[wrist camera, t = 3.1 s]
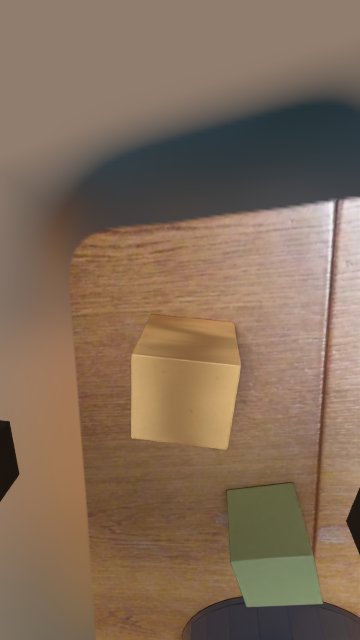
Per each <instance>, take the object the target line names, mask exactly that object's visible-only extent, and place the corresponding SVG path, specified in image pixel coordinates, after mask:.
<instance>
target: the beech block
mask: <svg viewBox="0 0 360 640" xmlns="http://www.w3.org/2000/svg"><path fill="white" fill-rule="evenodd" d="M240 371H241V361H240V356H239V350H238V344H237V338H236V332H235V327H234V322H225V321H215V320H204V319H194V318H184V317H173V316H163V315H153V314H151V316H150V318H149V320H148V322H147V324H146V326H145V328H144V330H143V332H142V334H141V336H140V338H139V340H138V342H137V344H136V346H135V348H134V350H133V352H132V354H131V438H135V439H143V440H151V441H159V442H167V443H175V444H184V445H192V446H200V447H208V448H216V449H224V450H227V449H228V443H229V437H230V431H231V425H232V419H233V413H234V407H235V401H236V395H237V389H238V383H239V377H240Z"/></svg>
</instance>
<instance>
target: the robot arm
mask: <svg viewBox="0 0 360 640" xmlns="http://www.w3.org/2000/svg"><path fill="white" fill-rule="evenodd" d="M18 475H19V470H18V465H17V460H16V454H15V448H14V443H13V438H12V432H11V427H10V422H9V421H1V420H0V501H1V500H2V498H3V497H4V496H5V494H6V493H7V491H8V490H9V488H10V487H11V486H12V484H13V483H14V481H15V480H16V478H17V477H18ZM346 522H347V525H348V527H349V529H350V532H351V534H352V537H353V539H354V542H355V544H356V547H357V549H358V552H359V554H360V488H359V491H358V493H357V495H356V498H355V500H354V503H353V505H352V508H351V510H350V513H349V515H348V517H347V520H346Z"/></svg>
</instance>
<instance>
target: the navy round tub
mask: <svg viewBox="0 0 360 640" xmlns="http://www.w3.org/2000/svg"><path fill="white" fill-rule="evenodd" d="M182 640H360V618H358V617H356V616H355V615H353V614H352V613H349V612H347V611H345V610H343V609H341V608H338V607H336V606H333V605H330V604H327V603H324V602H323V604H308V605H285V606H262V607H246V604H245V601H244V598H243V597H240V598H235V599H230V600H226V601H223V602H220V603H217V604H215V605H212V606H210V607H208V608H206V609H204V610H202V611H201V612H199V613H198V614H197V615H195V616H194V617H193V618H192V619H191V620H190V621H189V622H188V623H187V625H186V627H185V629H184V631H183V635H182Z"/></svg>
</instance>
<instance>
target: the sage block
mask: <svg viewBox="0 0 360 640" xmlns="http://www.w3.org/2000/svg"><path fill="white" fill-rule="evenodd" d="M227 506H228V526H229V545H230V562H231V565H232V567H233V570H234V573H235V576H236V579H237V582H238V584H239V587H240V590H241V593H242V596H243V598H244V601H245V604H246V607H262V606H285V605H308V604H323V600H322V595H321V590H320V585H319V580H318V575H317V570H316V565H315V560H314V555H313V551H312V548H311V544H310V541H309V537H308V534H307V530H306V527H305V523H304V520H303V516H302V512H301V509H300V505H299V502H298V498H297V495H296V491H295V488H294V484H293V483H285V484H276V485H268V486H259V487H251V488H242V489H234V490H227Z"/></svg>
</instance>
